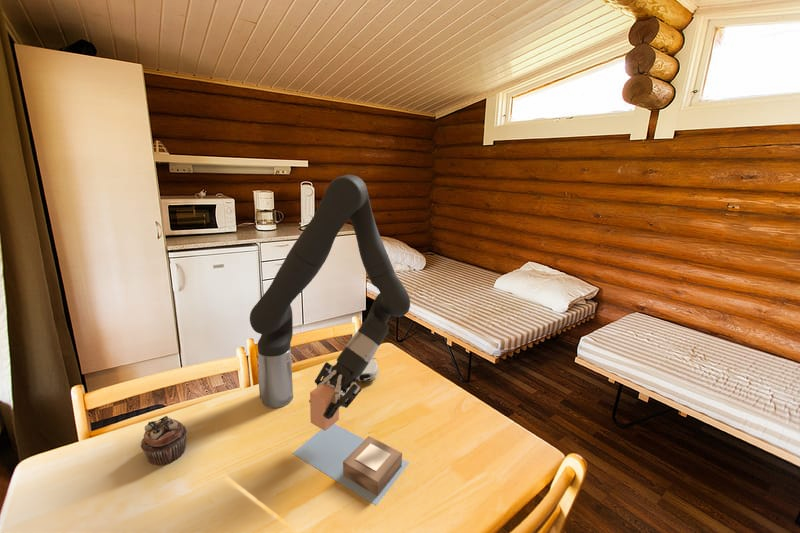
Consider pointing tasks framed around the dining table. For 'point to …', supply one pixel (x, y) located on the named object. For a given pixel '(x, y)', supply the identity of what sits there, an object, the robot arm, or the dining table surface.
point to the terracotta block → (322, 406)
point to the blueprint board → (338, 458)
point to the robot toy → (369, 371)
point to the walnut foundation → (372, 465)
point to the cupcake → (164, 441)
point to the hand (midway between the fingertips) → (319, 410)
